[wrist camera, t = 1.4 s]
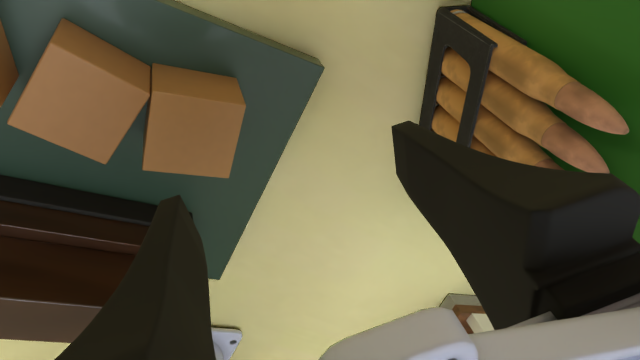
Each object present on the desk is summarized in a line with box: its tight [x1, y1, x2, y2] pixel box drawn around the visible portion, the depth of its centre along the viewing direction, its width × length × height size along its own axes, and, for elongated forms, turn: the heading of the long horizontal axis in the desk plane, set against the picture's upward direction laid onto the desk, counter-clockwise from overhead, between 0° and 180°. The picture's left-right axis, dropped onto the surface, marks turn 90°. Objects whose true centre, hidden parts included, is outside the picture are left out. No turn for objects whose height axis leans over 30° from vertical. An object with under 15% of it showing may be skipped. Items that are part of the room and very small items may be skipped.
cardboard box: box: [142, 63, 246, 178], centre depth 21 cm, size 4×4×3 cm
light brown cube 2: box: [7, 18, 151, 164], centre depth 19 cm, size 4×4×3 cm
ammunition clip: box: [419, 5, 629, 173], centre depth 23 cm, size 11×2×12 cm, turn 179°
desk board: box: [0, 0, 324, 280], centre depth 22 cm, size 15×20×1 cm
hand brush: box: [0, 175, 193, 343], centre depth 21 cm, size 4×14×7 cm, turn 62°
